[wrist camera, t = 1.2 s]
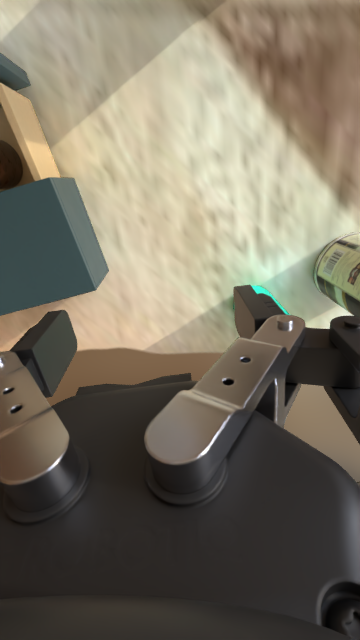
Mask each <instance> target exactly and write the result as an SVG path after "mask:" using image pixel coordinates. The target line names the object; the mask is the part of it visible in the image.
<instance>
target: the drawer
mask: <svg viewBox="0 0 360 640" xmlns="http://www.w3.org/2000/svg"><path fill="white" fill-rule="evenodd" d="M27 86H30V82H29V79H28V77H27V74H26V72H25V71H23V70H22V69H21V68H19V67H18V66H17V65H16V64H14V63H13V62H12V61H10V60H9V59H8V58H6V57H5V56H4V55H3V54H1V53H0V103H1V105H2V106H1V107H0V140H3V141H5V142H7V143H8V144H10V145H11V146H12V147H13V148H14V149H15V150H16V152H17V153H18V155H19V157H20V159H21V162H22V166H23V174H22V178H21V180H20V182H19V183H18V184H17V185H16V186H14V187H13V188H15V187H18V186H21V185H25V184H28V183H31V182H35V181H38V180H41V179H45V178H48V177H58V178H61V177H60V174H59V172H58V169H57V167H56V164H55V162H54V159H53V157H52V154H51V152H50V149H49V146H48V144H47V141H46V139H45V136H44V134H43V131H42V129H41V126H40V124H39V121H38V119H37V116H36V114H35V111H34V109H33V106H32V104H31V101H30V100H29V99H27V98H26V97H24V96H22V95H21V94H19V93H17V92H16V91H15V90H18V89H21V88H24V87H27ZM9 189H11V188H9ZM5 190H8V189H0V192H1V191H5Z"/></svg>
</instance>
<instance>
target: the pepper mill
mask: <svg viewBox="0 0 360 640" xmlns="http://www.w3.org/2000/svg"><path fill="white" fill-rule="evenodd" d="M22 174H23V166H22V162H21V159H20V157H19V155H18V153H17V152H16V150H15V149H14V148H13V147H12V146H11V145H10V144H8V143H7V142H5V141H3V140H0V189H9V188H13V187H14V186H16V185H17V184H18V183H19V182H20V180H21V178H22Z"/></svg>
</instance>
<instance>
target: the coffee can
mask: <svg viewBox="0 0 360 640" xmlns="http://www.w3.org/2000/svg"><path fill="white" fill-rule="evenodd" d="M314 280H315V284H316V286H317V288H318V290H319V291H320V292H321V293H322V294H323V295H324V296H326V297H328V298H330V299H331V300H333V301H334V302H335V303H337V304H338V305H340V306H341V307H342V308H344V309H345V310H347V311H348V312H350V313H351V314H352V315H354V316H357V317H360V232H355V233H349V234H345V235H343V236H340V237H338V238H337V239H335V240H334V241H332V242H331V243H330V244H329V245H328V246H326V248H325V249H324V250H323V251H322V253H321V254H320V256H319V258H318V260H317V262H316V265H315V270H314Z"/></svg>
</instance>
